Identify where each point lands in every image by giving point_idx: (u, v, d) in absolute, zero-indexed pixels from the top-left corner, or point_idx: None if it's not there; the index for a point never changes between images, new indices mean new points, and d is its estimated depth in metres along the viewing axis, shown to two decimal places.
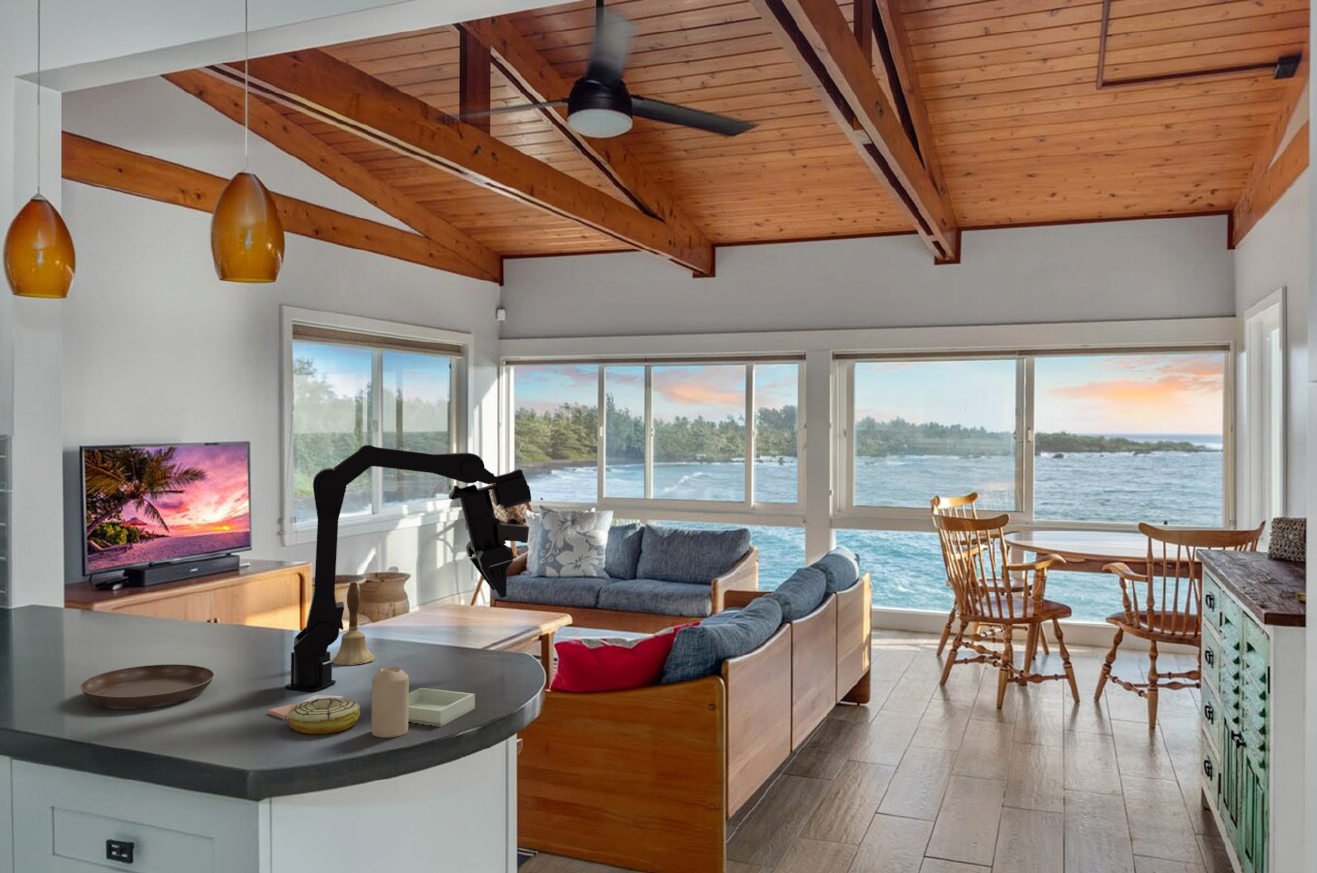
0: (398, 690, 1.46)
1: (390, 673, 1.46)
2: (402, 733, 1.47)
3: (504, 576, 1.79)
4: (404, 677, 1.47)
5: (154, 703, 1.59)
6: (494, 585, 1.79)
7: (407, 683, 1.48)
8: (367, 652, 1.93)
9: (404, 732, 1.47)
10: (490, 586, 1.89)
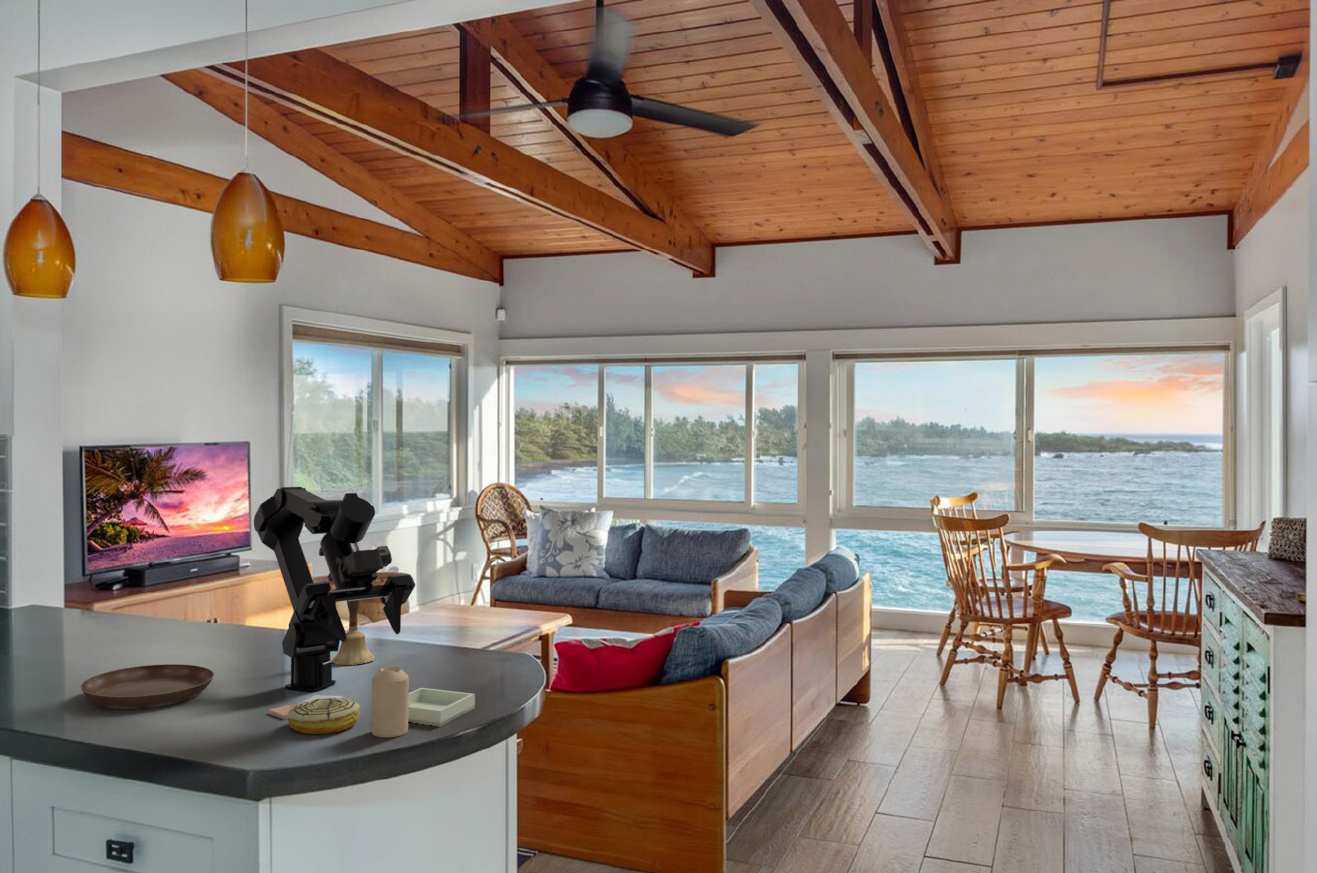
0: (398, 690, 1.46)
1: (390, 673, 1.46)
2: (402, 733, 1.47)
3: (331, 617, 1.52)
4: (404, 677, 1.47)
5: (154, 703, 1.59)
6: (331, 631, 1.53)
7: (407, 683, 1.48)
8: (367, 652, 1.93)
9: (404, 732, 1.47)
10: (394, 631, 1.58)
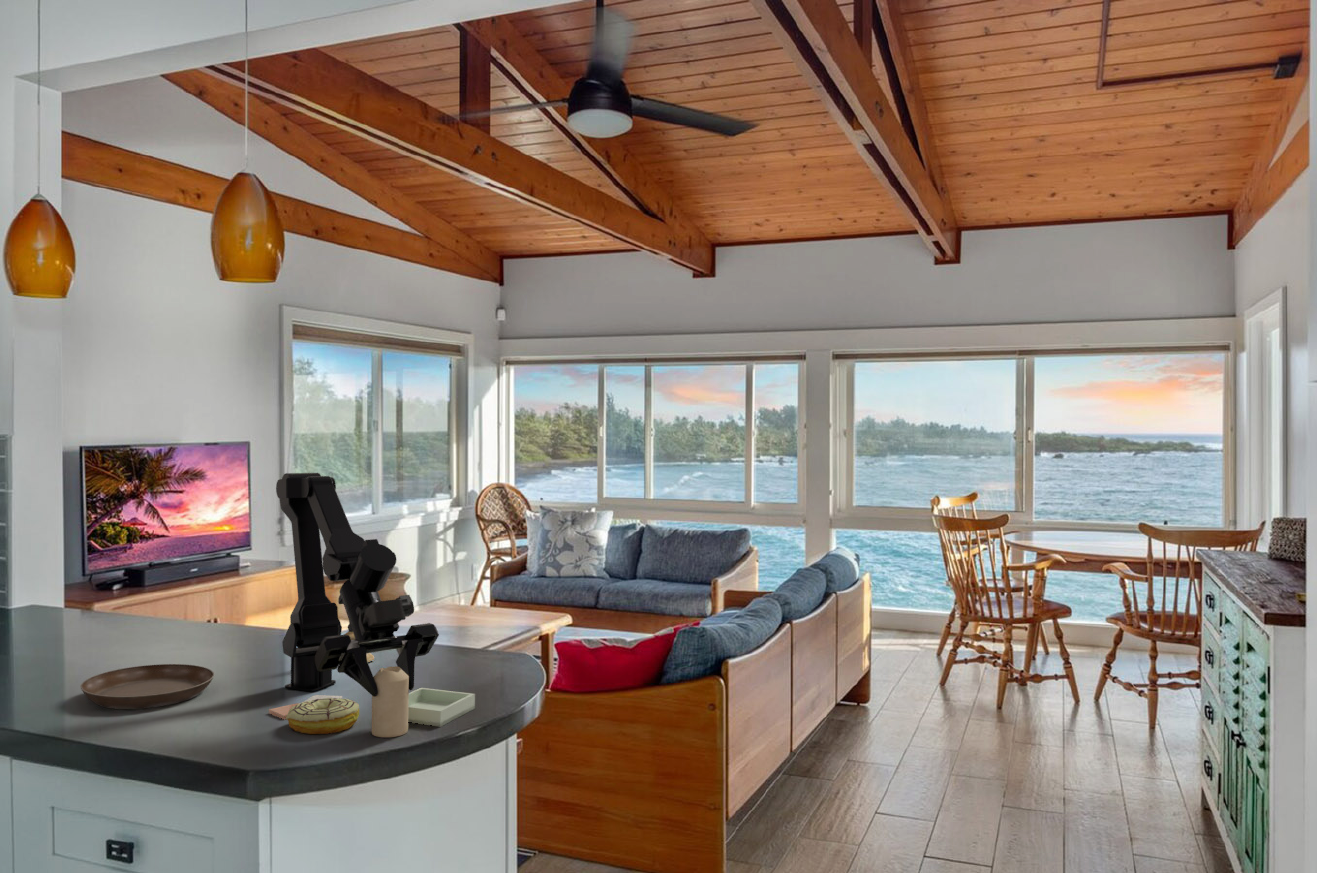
0: (399, 690, 1.46)
1: (390, 673, 1.46)
2: (402, 733, 1.47)
3: (361, 670, 1.46)
4: (404, 677, 1.47)
5: (154, 703, 1.59)
6: (361, 684, 1.47)
7: (407, 683, 1.48)
8: None
9: (405, 732, 1.47)
10: None
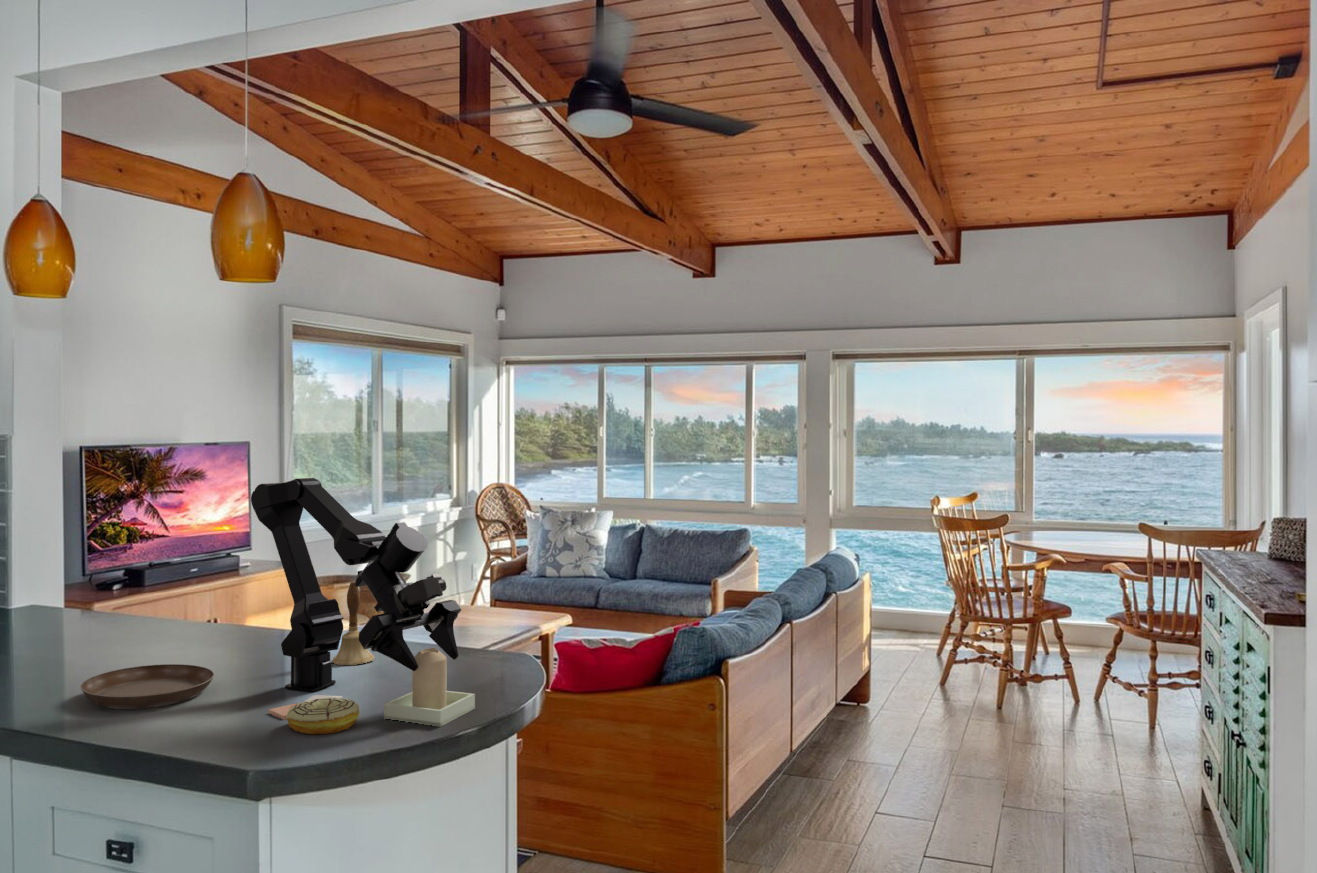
0: (442, 669, 1.56)
1: (433, 654, 1.56)
2: None
3: (400, 647, 1.53)
4: (444, 657, 1.58)
5: (154, 703, 1.59)
6: (398, 661, 1.54)
7: (446, 662, 1.58)
8: (367, 652, 1.93)
9: None
10: (450, 656, 1.61)
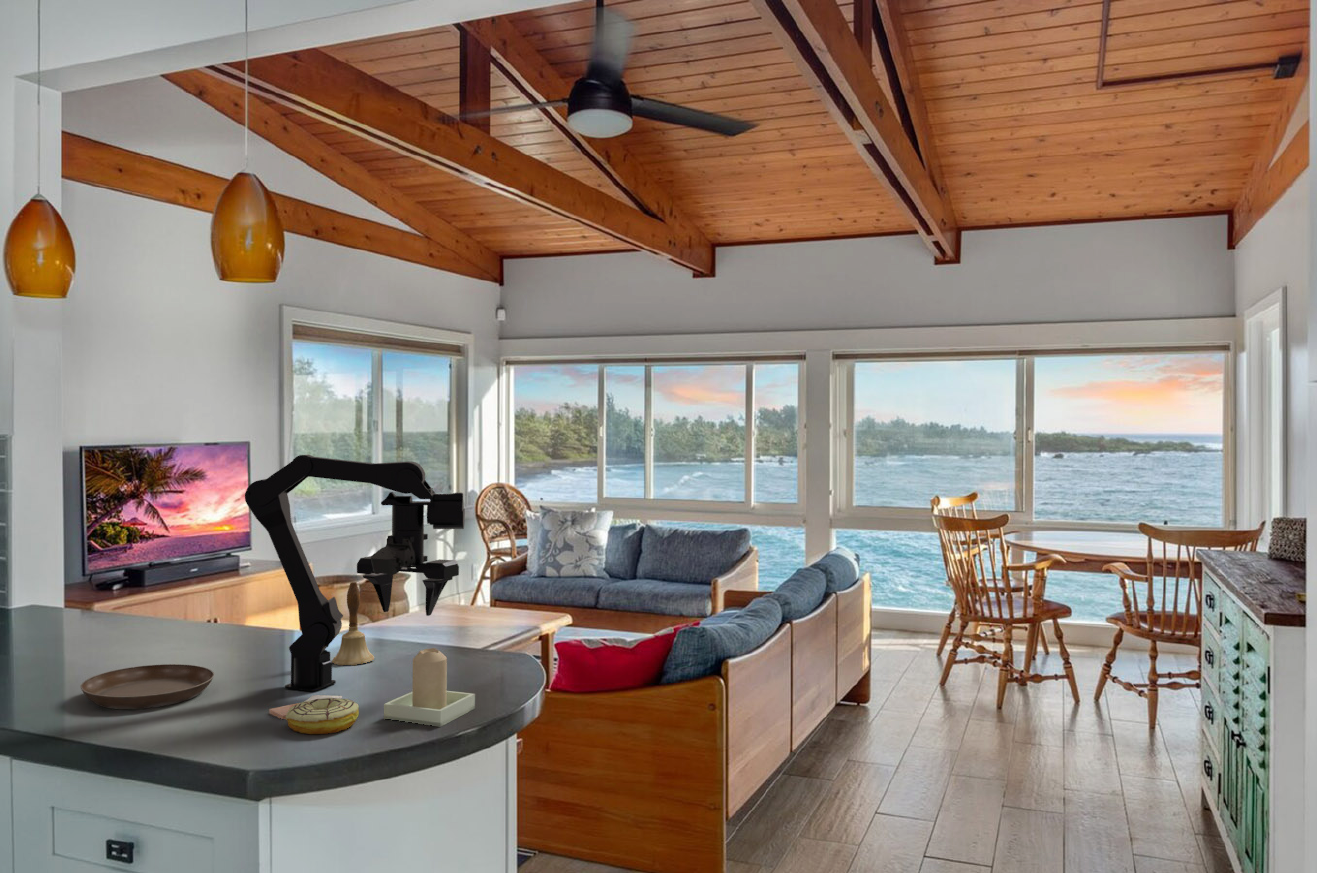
0: (442, 669, 1.56)
1: (433, 654, 1.56)
2: None
3: None
4: (444, 657, 1.58)
5: (154, 703, 1.59)
6: None
7: (446, 662, 1.58)
8: (367, 652, 1.93)
9: None
10: None
